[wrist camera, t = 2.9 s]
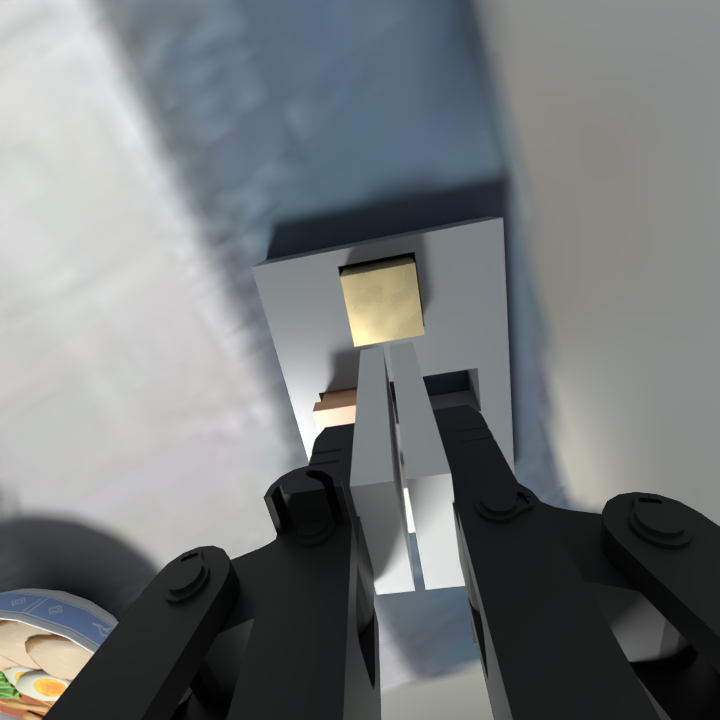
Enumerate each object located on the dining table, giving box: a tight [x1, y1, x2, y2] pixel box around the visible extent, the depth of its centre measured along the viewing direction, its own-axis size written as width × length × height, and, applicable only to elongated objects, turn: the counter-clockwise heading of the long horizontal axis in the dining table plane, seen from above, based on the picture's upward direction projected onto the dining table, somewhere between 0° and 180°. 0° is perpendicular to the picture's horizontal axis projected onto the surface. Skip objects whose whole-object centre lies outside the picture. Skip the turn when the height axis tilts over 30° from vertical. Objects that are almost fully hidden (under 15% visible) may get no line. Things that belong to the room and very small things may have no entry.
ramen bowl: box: [0, 589, 119, 720], centre depth 40 cm, size 25×23×8 cm
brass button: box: [340, 255, 425, 347], centre depth 24 cm, size 4×4×4 cm
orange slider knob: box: [313, 387, 358, 434], centre depth 27 cm, size 5×3×6 cm, turn 11°
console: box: [252, 216, 514, 474], centre depth 29 cm, size 23×16×4 cm
